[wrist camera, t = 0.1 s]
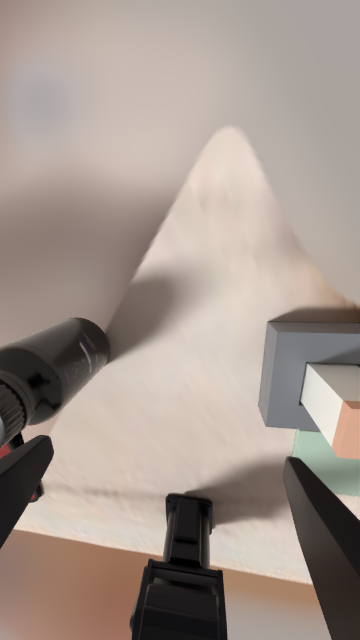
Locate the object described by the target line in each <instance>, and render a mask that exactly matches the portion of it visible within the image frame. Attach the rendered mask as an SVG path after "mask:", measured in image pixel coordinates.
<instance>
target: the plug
mask: <svg viewBox="0 0 360 640" xmlns="http://www.w3.org/2000/svg"><path fill="white" fill-rule="evenodd" d="M300 401H301V402H302V404H303V405H304V407H305V408H306V410H307V411H308V413H309V414H310V416H311V417H312V419H313V420H314V422H315V423H316V425H317V426H318V428H319V429H320V431H321V432H322V434H323V435H324V437H325V438H326V440H327V441H328V443H329V444H330V446H331V447H332V449H333V450H334V452H335V453H336V455H337V456H338V458H350V459H360V367H358V366H357V365H356V364H350V363H323V362H306V365H305V371H304V377H303V382H302V388H301V394H300Z"/></svg>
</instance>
